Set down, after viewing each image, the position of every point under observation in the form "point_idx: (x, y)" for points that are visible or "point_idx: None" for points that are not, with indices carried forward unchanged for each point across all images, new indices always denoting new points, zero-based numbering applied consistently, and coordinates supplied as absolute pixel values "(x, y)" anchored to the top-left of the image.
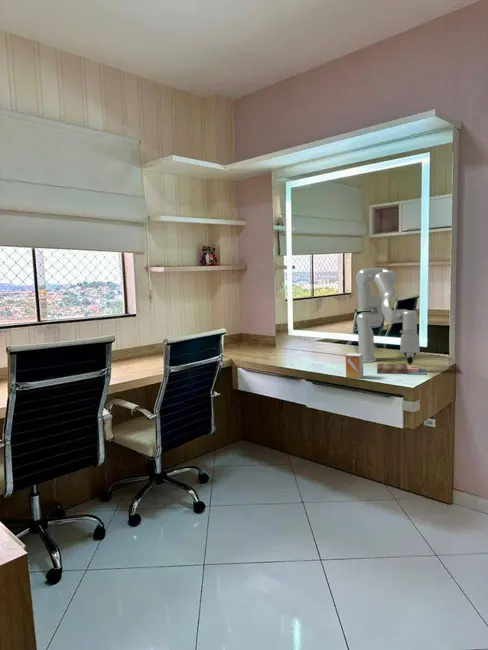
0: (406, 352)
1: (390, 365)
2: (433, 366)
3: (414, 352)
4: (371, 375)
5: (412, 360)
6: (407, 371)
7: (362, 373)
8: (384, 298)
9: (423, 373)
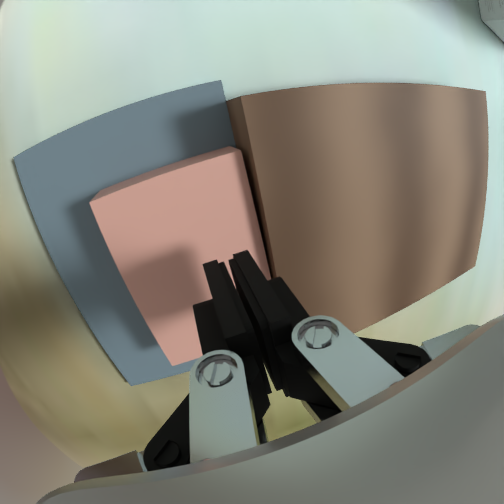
0: (432, 363)
1: (421, 229)
2: (104, 432)
3: (155, 473)
4: (462, 35)
5: (202, 322)
6: (230, 146)
7: (495, 4)
8: None
9: (43, 166)
